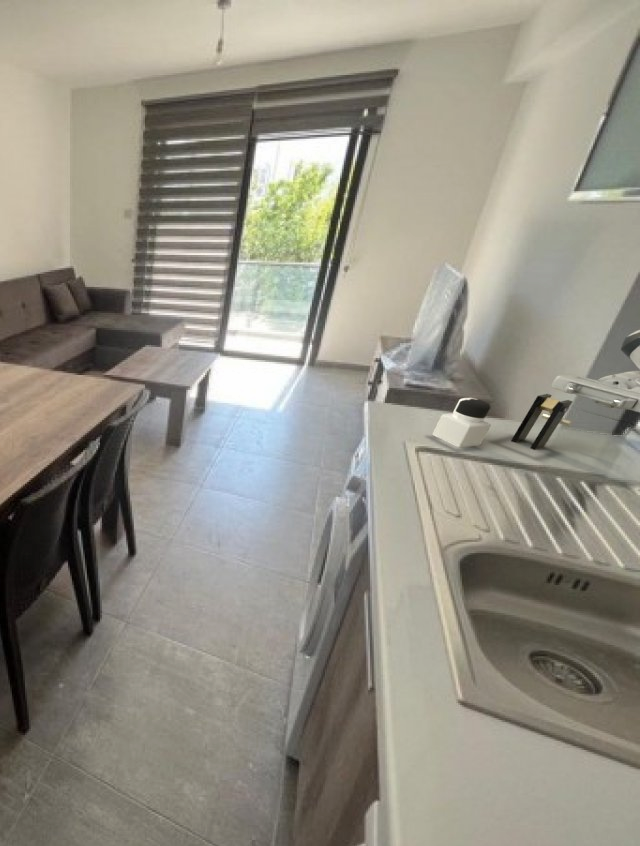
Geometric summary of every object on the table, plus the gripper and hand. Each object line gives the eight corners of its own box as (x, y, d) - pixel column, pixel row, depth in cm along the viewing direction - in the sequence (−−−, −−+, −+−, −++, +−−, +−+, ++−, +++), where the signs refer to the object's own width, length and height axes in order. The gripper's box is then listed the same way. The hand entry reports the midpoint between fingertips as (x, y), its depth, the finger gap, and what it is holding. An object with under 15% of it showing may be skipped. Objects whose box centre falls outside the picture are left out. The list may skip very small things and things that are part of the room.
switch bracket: (513, 438, 127) (542, 389, 120) (556, 453, 120) (589, 403, 113) (492, 443, 123) (521, 394, 116) (535, 460, 116) (568, 408, 109)
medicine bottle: (477, 449, 119) (502, 405, 114) (456, 452, 118) (480, 407, 112) (450, 436, 125) (472, 394, 120) (429, 438, 124) (450, 395, 118)
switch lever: (540, 420, 124) (547, 412, 124) (567, 429, 120) (574, 420, 119) (532, 403, 117) (539, 394, 117) (560, 412, 113) (568, 403, 112)
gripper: (573, 367, 136) (548, 371, 130) (678, 393, 119) (655, 399, 114) (560, 388, 139) (535, 393, 133) (661, 416, 122) (638, 423, 117)
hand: (591, 396), depth 124 cm, fingers open, 8 cm apart
